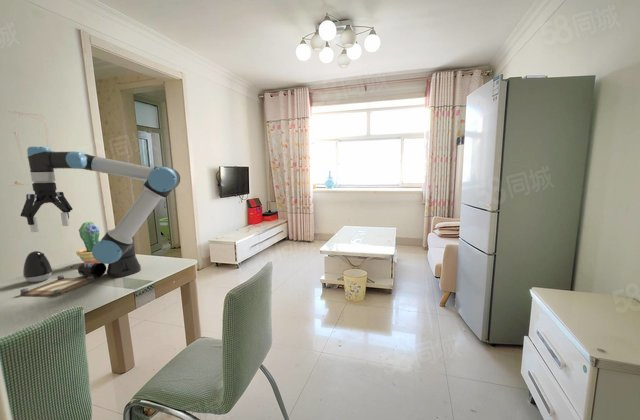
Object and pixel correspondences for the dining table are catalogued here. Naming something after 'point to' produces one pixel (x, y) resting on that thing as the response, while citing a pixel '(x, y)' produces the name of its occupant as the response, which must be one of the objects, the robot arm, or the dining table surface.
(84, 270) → the supplement container
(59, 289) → the wooden tray
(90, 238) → the potted cactus
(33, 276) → the black egg-shaped dome
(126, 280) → the dining table surface
